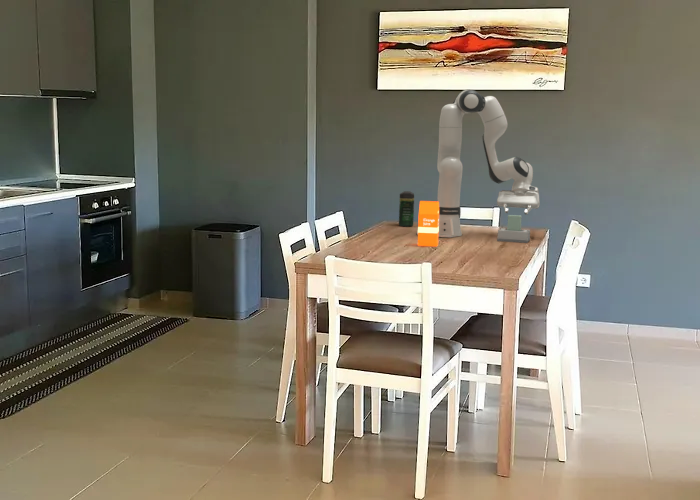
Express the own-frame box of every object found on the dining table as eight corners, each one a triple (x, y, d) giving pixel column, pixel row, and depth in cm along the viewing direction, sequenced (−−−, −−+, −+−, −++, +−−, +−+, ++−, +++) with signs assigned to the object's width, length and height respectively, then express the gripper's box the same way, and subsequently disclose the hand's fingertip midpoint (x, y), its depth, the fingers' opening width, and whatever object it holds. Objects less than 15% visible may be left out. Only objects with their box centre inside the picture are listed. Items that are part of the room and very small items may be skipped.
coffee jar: (413, 227, 410) (414, 192, 407) (398, 226, 411) (399, 191, 408) (413, 224, 419) (414, 190, 416) (399, 224, 420) (399, 190, 417)
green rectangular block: (508, 237, 371) (509, 214, 369) (520, 238, 369) (521, 215, 367) (506, 238, 368) (507, 215, 366) (519, 239, 366) (520, 216, 364)
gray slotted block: (497, 241, 366) (497, 230, 365) (500, 238, 375) (501, 227, 374) (527, 243, 361) (527, 232, 360) (529, 240, 370) (530, 229, 369)
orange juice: (436, 246, 348) (438, 202, 345) (417, 245, 350) (418, 201, 347) (438, 243, 356) (439, 200, 352) (419, 242, 358) (420, 200, 354)
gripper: (498, 185, 379) (493, 207, 372) (541, 188, 372) (537, 210, 365) (499, 194, 384) (495, 215, 377) (541, 196, 377) (537, 218, 369)
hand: (516, 213), depth 371 cm, fingers open, 8 cm apart
